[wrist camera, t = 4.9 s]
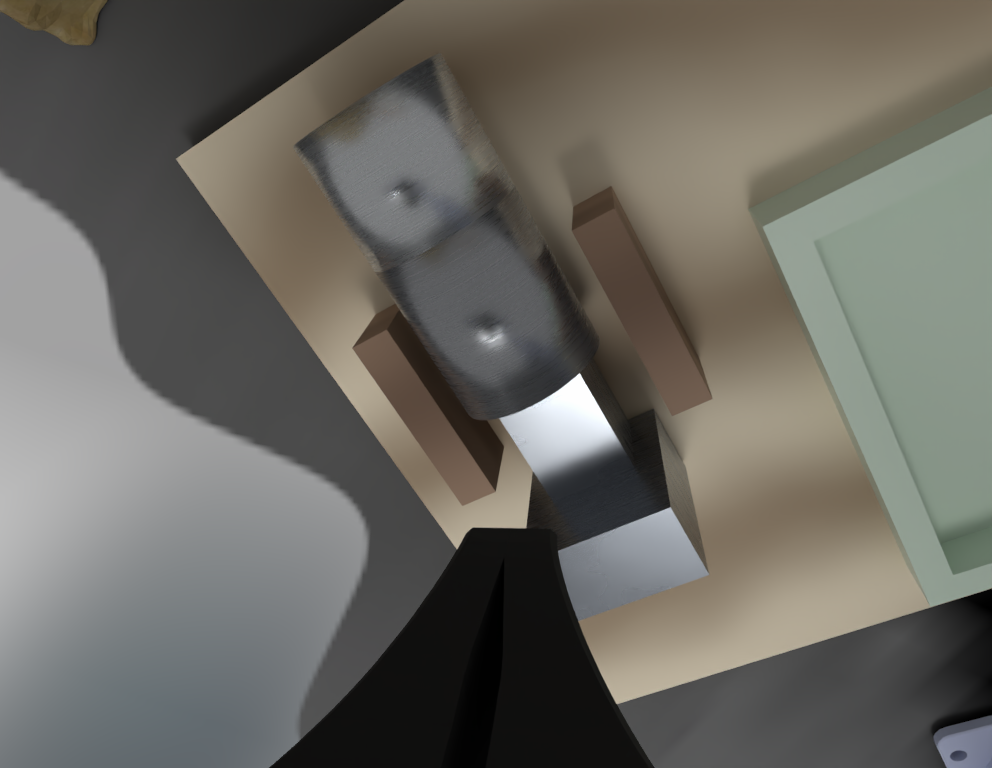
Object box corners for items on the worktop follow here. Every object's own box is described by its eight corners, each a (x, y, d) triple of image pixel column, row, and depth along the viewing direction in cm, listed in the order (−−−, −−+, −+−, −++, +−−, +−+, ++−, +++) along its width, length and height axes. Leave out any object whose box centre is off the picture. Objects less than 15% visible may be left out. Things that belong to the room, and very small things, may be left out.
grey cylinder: (602, 312, 19) (597, 378, 16) (481, 369, 20) (453, 440, 17) (456, 47, 16) (416, 61, 13) (329, 130, 18) (265, 161, 15)
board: (1242, 479, 20) (1273, 501, 19) (577, 692, 26) (577, 716, 25) (1040, -432, 13) (1073, -465, 12) (195, 151, 19) (175, 158, 18)
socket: (699, 359, 19) (712, 398, 17) (473, 460, 21) (462, 506, 19) (611, 185, 17) (614, 208, 15) (375, 314, 20) (352, 348, 18)
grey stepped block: (685, 466, 20) (709, 574, 16) (567, 513, 21) (563, 625, 18) (601, 313, 19) (605, 394, 15) (478, 374, 20) (452, 463, 16)
